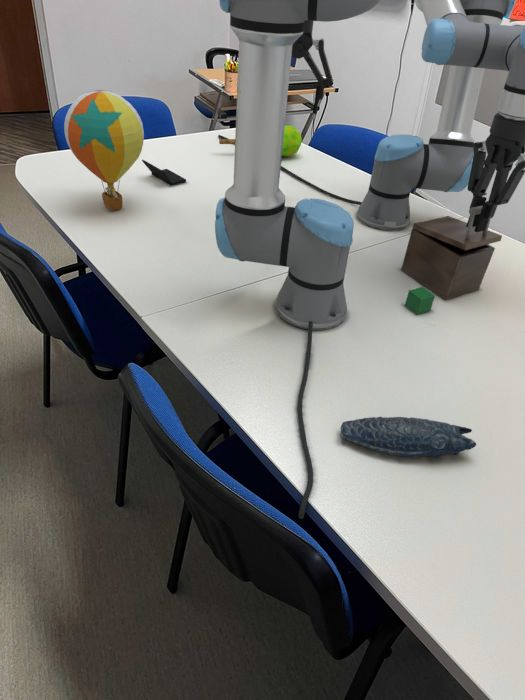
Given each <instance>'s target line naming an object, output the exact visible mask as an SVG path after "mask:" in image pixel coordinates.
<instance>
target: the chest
mask: <svg viewBox="0 0 525 700" xmlns="http://www.w3.org/2000/svg"><path fill="white" fill-rule="evenodd" d="M495 249H496V248H495V247H494V246H492V245H491V244H487V245H483V246H479V247H476V248H472V249H468V250H463V249H461V248H458V247H456V246H453V245H451V244H449V243H446V242H444V241H441V240H439V239H436V238H434V237H432V236H429V235H427V234H424V233H422V232H419V231H417V230H414V229H411V232H410V235H409V239H408V242H407V245H406V250H405V254H404V258H403V261H402V264H401V267H400V268H401V269H400V270H401V271H402V272H403V273H405V274H406V275H407V276H409V277H411V278H412V279H414V281H416V282H418V283H419V284H420V285H422V286H423V287H424V288H426V289H427V290H428V291H430V292H431V293H433V294H434V295H436V296H438V297H439V298H441V299H442V300H444V301H447V300H450V299H454V298H457V297H459V296H463V295H466V294H469V293H473V292H475V291H478V290H480V288H481V285H482V283H483V280H484V278H485V275H486V274H487V273H486V272H487V270H488V267H489V265H490V262H491V260H492V257H493V255H494V252H495Z"/></svg>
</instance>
